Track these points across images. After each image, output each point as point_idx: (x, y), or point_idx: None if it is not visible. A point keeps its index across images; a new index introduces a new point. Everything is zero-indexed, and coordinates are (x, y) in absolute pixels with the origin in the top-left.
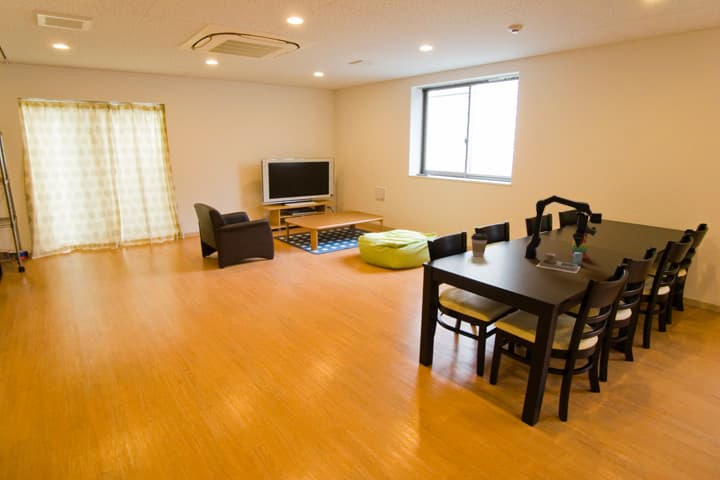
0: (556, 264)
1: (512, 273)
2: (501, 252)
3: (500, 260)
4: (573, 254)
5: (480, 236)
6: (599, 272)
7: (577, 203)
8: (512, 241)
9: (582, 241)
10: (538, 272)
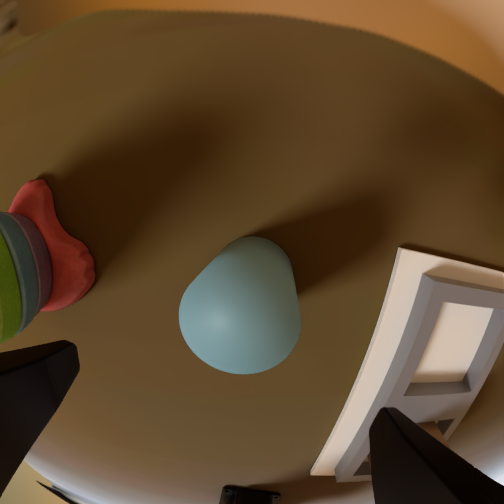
0: (452, 412)
1: (497, 465)
2: None
3: None
4: (53, 303)
5: None
6: (449, 106)
7: None
8: (44, 474)
9: (18, 372)
10: (499, 426)
